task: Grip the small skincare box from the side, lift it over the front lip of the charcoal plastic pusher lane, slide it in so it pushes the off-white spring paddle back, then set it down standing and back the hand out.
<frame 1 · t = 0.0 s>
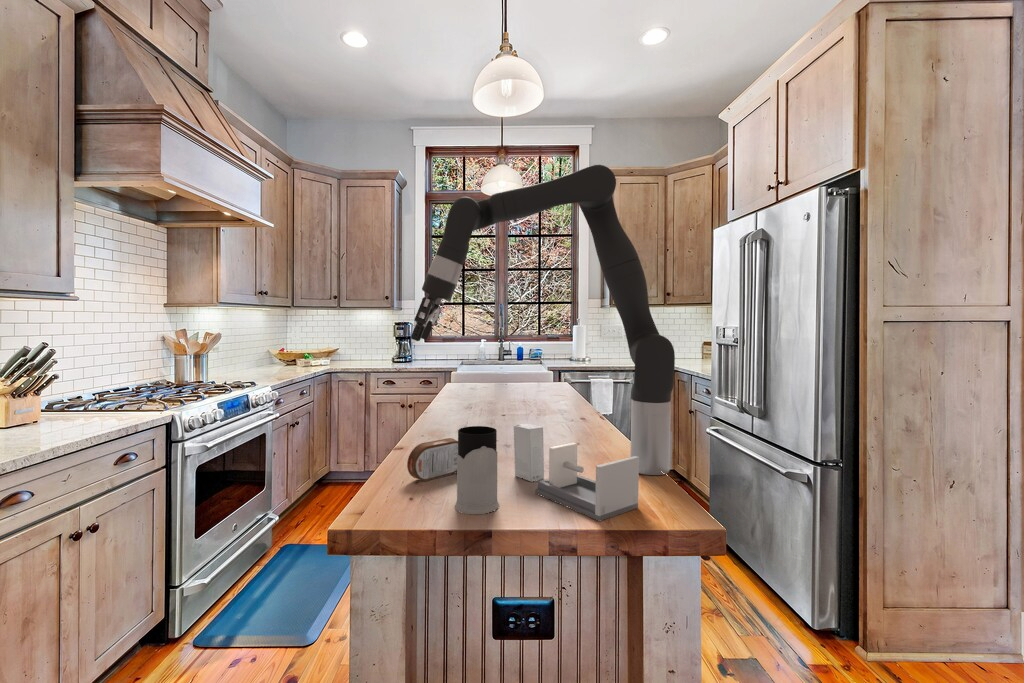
hand: (419, 339, 122), 31 cm above the table, tool tilted 20°, fingers open, 8 cm apart
pusher lane: (584, 500, 101), on the table
skincare box: (528, 478, 115), on the table
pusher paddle: (571, 468, 104), point 6 cm above the table, slide at 0.0 cm
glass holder: (472, 502, 100), on the table
tin: (438, 477, 115), on the table
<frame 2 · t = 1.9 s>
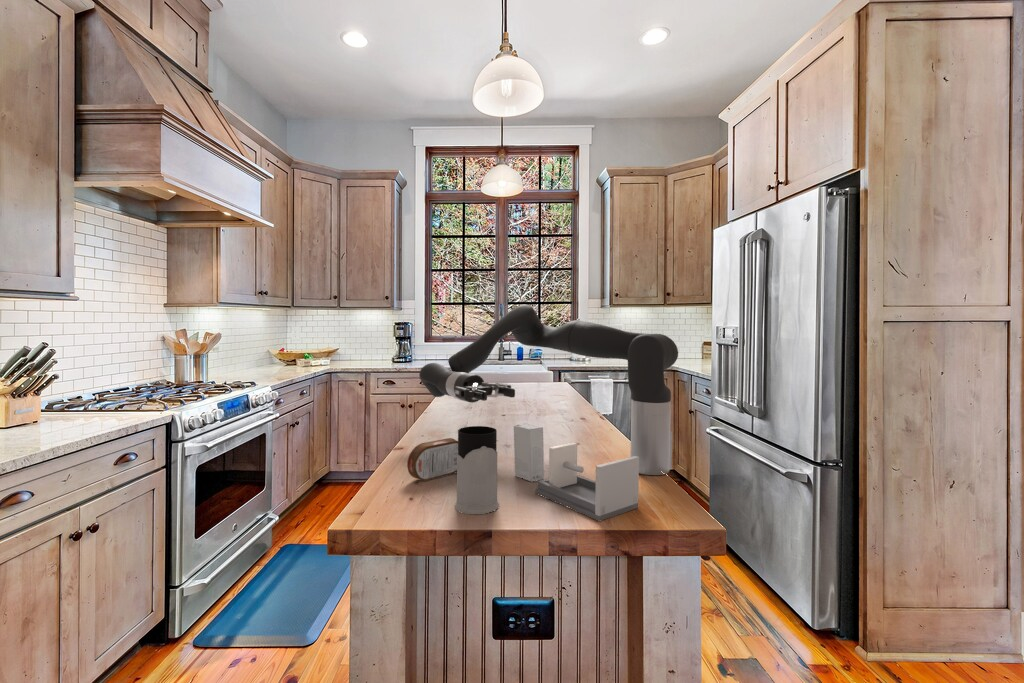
hand: (500, 394, 123), 18 cm above the table, tool horizontal, fingers open, 8 cm apart
nothing on the table moved.
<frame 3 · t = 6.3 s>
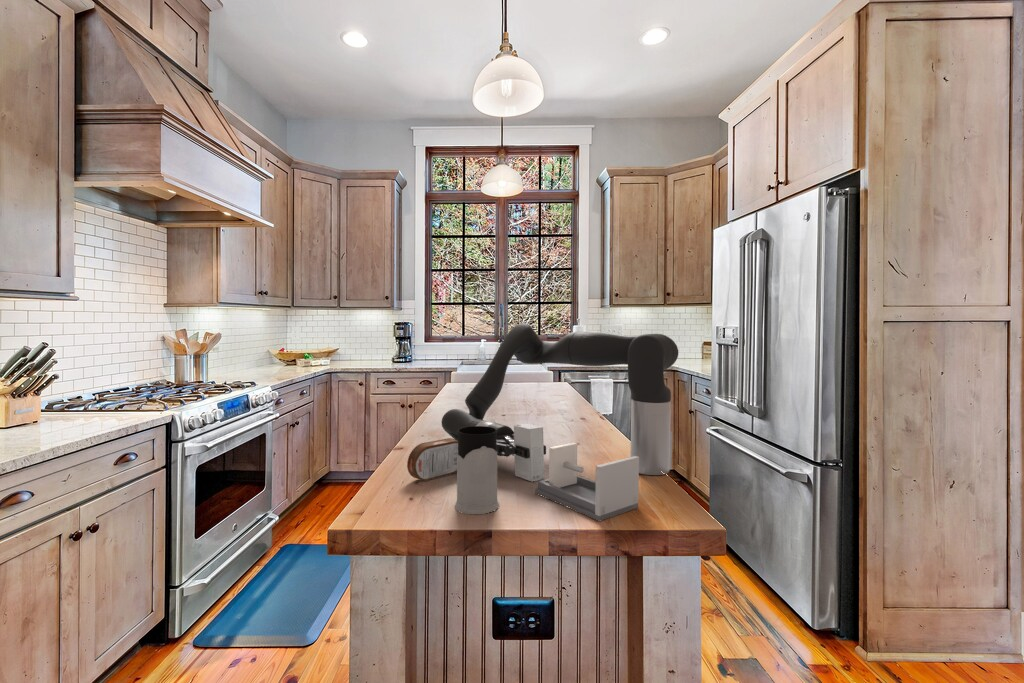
hand: (536, 452, 113), 7 cm above the table, tool horizontal, fingers closed on skincare box, 4 cm apart
skincare box: (528, 478, 115), on the table, touching gripper
everything else where it was.
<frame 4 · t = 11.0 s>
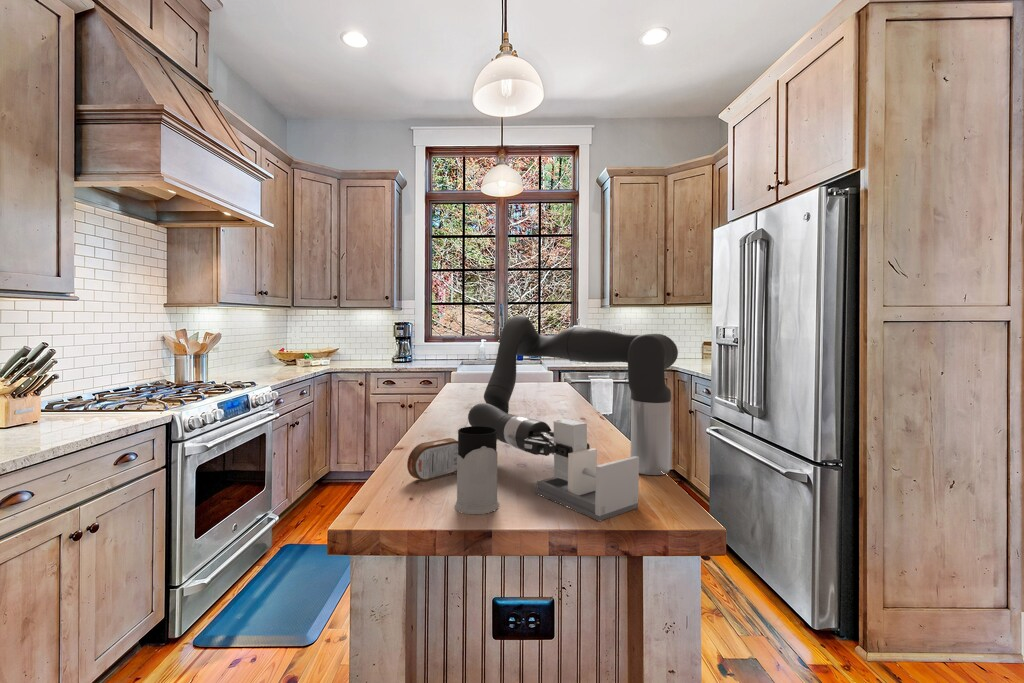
hand: (579, 450, 101), 10 cm above the table, tool horizontal, fingers closed on skincare box, 4 cm apart
skincare box: (569, 479, 104), point 3 cm above the table, touching gripper, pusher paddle
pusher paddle: (591, 475, 99), point 6 cm above the table, slide at 5.7 cm, touching skincare box
everything else where it was.
when the fingers open (8 cm above the table, at t = 11.9 s): skincare box stays where it is, resting on pusher lane.
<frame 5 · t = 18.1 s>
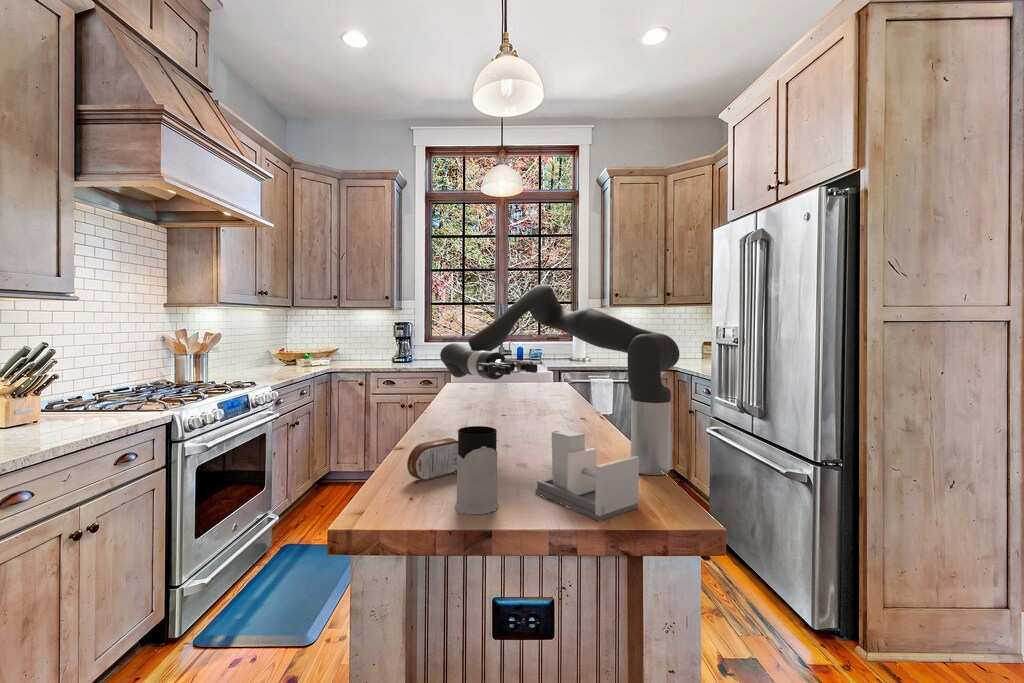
hand: (523, 369, 124), 24 cm above the table, tool horizontal, fingers open, 8 cm apart
skincare box: (568, 490, 104), point 1 cm above the table, touching pusher lane
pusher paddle: (590, 475, 99), point 6 cm above the table, slide at 5.5 cm
everything else where it was.
at the end: skincare box 0.5 cm from the target spot on the pusher lane, point 0.8 cm above the pusher lane's base; skincare box tilted 0°; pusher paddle slide at 5.5 cm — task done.
